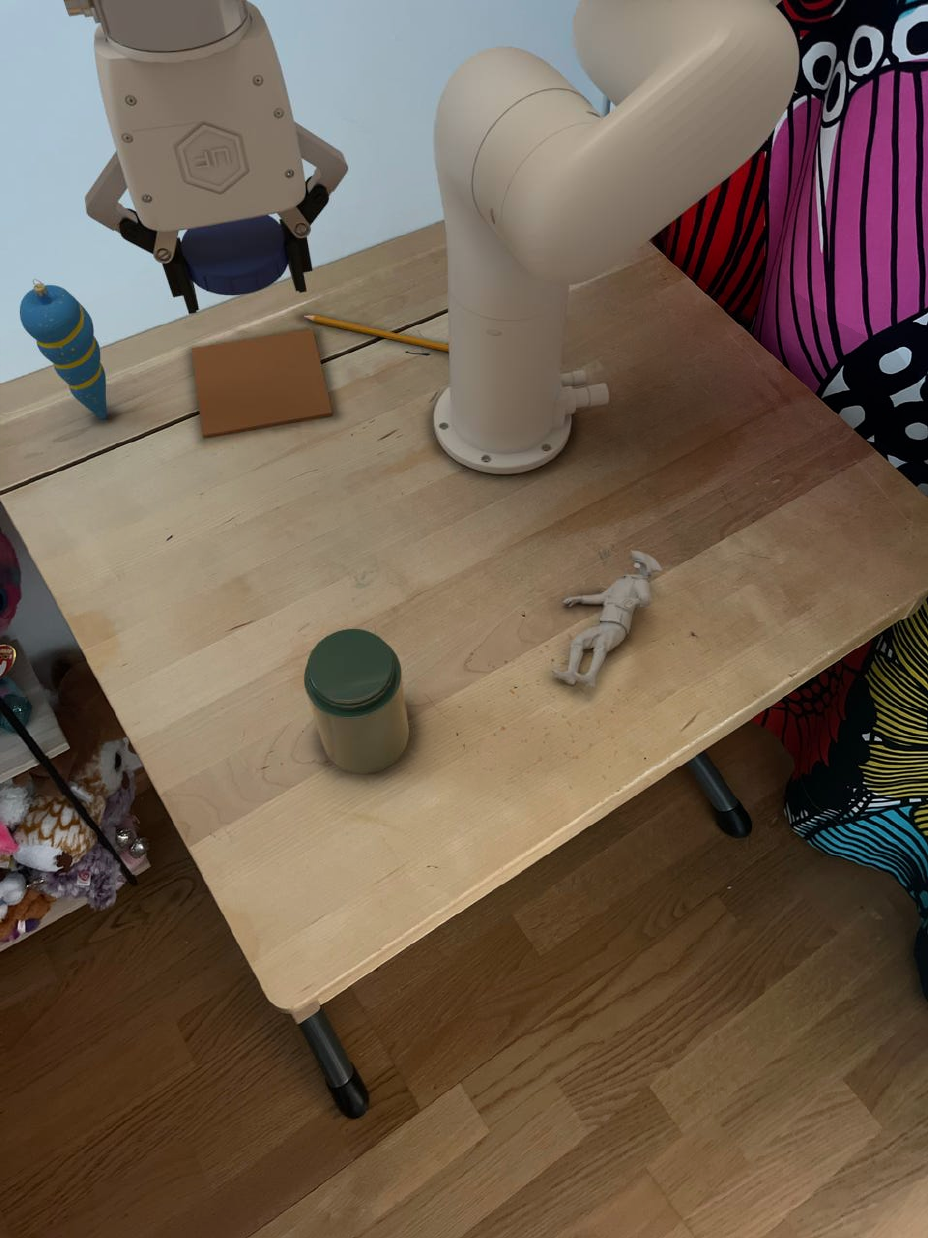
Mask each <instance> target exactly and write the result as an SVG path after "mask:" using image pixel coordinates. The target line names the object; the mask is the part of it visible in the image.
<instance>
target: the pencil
mask: <svg viewBox="0 0 928 1238" xmlns="http://www.w3.org/2000/svg"><path fill="white" fill-rule="evenodd" d="M300 316H301V317H303V318H305V319H307V320H310V321H312V322H314V323H318V324H322V325H327V326H330V327H335V328H339V329H344V330H349V331H352V332H358V333H363V334H367V335H370V336H374V337H375V336H376V337H380V338H385V339H389V340H393V341H399V342H402V343H407V344H411V345H415V346H420V347H425V348H428V349H429V348H430V349H432V350H433V349H434V350H438V351H442V352H447V353H449V344H446V343H441V342H436V341H433V340H427V339H424V338H420V337H414V336H410V335H405V334H402V333H401V334H400V333H395V332H391V331H386V330H382V329H379V328H374V327H373V328H372V327H368V326H366V325H365V326H364V325H360V324H355V323H351V322H346V321H343V320H338V319H334V318H329V317H324V316H319V315H300Z"/></svg>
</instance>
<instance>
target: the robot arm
mask: <svg viewBox="0 0 928 1238" xmlns="http://www.w3.org/2000/svg"><path fill="white" fill-rule="evenodd" d="M782 1H783V0H579V2H578V3H577V6H576V9H575V12H574V15H573V19H572V24H571V40H572V41H571V43H572V47H573V51H574V53H575V56H576V59H577V61H578V63H579V66H580V67H581V69H582V70H583V71H584V73H585V75H586V76H587V78H588V79H589V80H590V82H592V84H593V85H594V86H595V87H596V88H597V89H598V90H599V92H601V93H602V94H603V95H604V96H605V98H606V99H608V100H609V101H610V103H612V105H614V107H615V108H613V109H611V111H609V112H608V113H607V114H606V115H605V116H603V115H602V113H600V112H599V111H598V110H597V109H596V108H595V107H594V106H593V104H592V103H591V102H590V101H589V100H588V99H587V98H586V97H585V96H584V95H583V94H582V93H581V92H580V91H579V90H578V89H577V88H576V87H575V86H574V85H573V84H572V83H571V82H570V81H569V80H568V79H567V78H566V77H565V76H564V75H563V74H562V73H561V72H559V70H557V69H556V68H555V67H554V66H553V65H551V64H550V63H549V62H547V61H546V60H545V59H543V58H541V57H540V56H538V55H536V54H534V53H532V52H530V51H528V50H525V49H522V48H519V47H513V46H497V47H490V48H487V49H484V50H481V51H478V52H477V53H475V54H473V55H472V56H470V57H469V58H468V59H466V60H465V61H463V62H462V63H461V64H460V65H459V66H458V67H457V68H456V70H454V71H453V73H452V75H451V76H450V77H449V79H448V80H447V82H446V84H445V86H444V88H443V90H442V92H441V94H440V96H439V100H438V102H437V105H436V106H437V107H436V111H435V116H434V121H433V135H432V136H433V137H432V138H433V139H432V140H433V141H432V142H433V143H432V144H433V158H434V165H435V172H436V178H437V183H438V189H439V195H440V200H441V207H442V213H443V219H444V228H445V241H446V243H445V244H446V263H447V281H446V282H447V320H448V321H447V322H448V324H447V326H448V327H447V328H448V345H449V352H448V365H449V367H448V368H449V386H447V387H446V388H445V390H444V391H443V392H442V393H441V394H440V396H439V397H438V400H437V401H436V404H435V406H434V412H433V429H434V433H435V438H436V439H437V441H438V443H439V445H440V446H441V448H442V449H443V451H445V452H446V453H447V455H448V456H450V457H451V458H453V460H455V461H456V462H458V463H460V464H462V465H464V466H465V467H467V468H470V469H471V470H475V471H479V472H483V473H488V474H492V475H493V474H494V475H512V474H521V473H525V472H529V471H532V470H534V469H537V468H540V467H541V466H543V465H546V464H548V463H549V462H550V461H552V460H553V459H555V458H556V456H557V455H559V453H560V452H562V450H563V449H564V447H565V445H567V442H568V440H569V437H570V434H571V429H572V428H571V427H572V415H573V414H575V413H576V411H577V409H581V408H585V407H587V408H594V407H600V406H605V405H608V404H609V401H610V393H609V387H608V385H607V384H606V383H605V382H600V383H597V384H595V383H594V384H590V385H587V381H588V380H587V379H588V378H587V377H588V376H587V373H586V370H585V369H580V370H579V369H578V370H572V371H569V372H565V373H561V372H560V371H561V362H562V354H563V343H564V337H565V326H566V317H567V308H568V307H567V306H568V300H569V299H568V297H569V290H570V286H572V285H577V284H581V283H584V282H587V281H590V280H592V279H594V278H597V277H598V276H600V275H602V274H604V273H606V272H608V271H609V270H611V269H612V268H614V267H616V266H617V265H618V264H620V263H621V262H622V261H624V260H625V259H627V258H628V257H629V256H630V255H632V254H633V253H634V252H635V251H637V250H638V249H640V248H641V247H642V246H643V245H645V244H646V243H647V242H648V241H650V240H651V239H652V238H653V237H655V236H656V235H658V233H660V232H661V231H663V229H665V228H666V227H667V226H669V225H670V224H671V223H672V222H673V221H675V220H677V219H678V218H679V217H680V216H682V215H683V214H684V213H685V212H687V211H688V210H689V209H690V208H691V207H693V206H694V205H695V204H697V203H698V202H699V201H700V200H702V199H703V198H704V197H706V196H707V195H708V194H709V193H710V192H711V191H713V190H714V189H715V188H717V187H718V186H719V185H720V184H722V183H723V182H724V181H725V180H727V179H728V178H729V177H731V176H732V174H734V173H735V172H736V171H737V170H739V169H740V168H741V167H742V166H743V165H744V164H746V163H747V162H748V161H749V160H750V159H751V157H752V156H754V155H755V154H756V153H757V152H758V150H759V149H760V148H761V147H762V146H763V144H765V142H766V141H767V140H768V139H769V137H770V136H771V135H772V133H773V131H774V130H775V129H776V126H778V124H779V122H780V121H781V120H782V118H783V116H784V114H785V112H786V110H787V108H788V106H789V104H790V102H791V99H792V97H793V94H794V92H795V88H796V84H797V81H798V76H799V70H800V50H799V45H798V41H797V37H796V34H795V32H794V30H793V27H792V26H791V24H790V22H789V21H788V19H787V18H786V17H785V16H784V14H783V13H782V12H781V11H780V9H778V7H777V6H778V4H780V3H781V2H782ZM63 3H64V7H65V9H66V12H67V14H68V17H76V16H82V15H84V18H91V17H92V18H93V20H94V23H95V24H98V26H97V27H96V29H95V31H94V36H93V37H94V41H93V51H94V58H95V66H96V68H95V69H96V74H97V80H98V85H99V89H100V94H101V98H102V99H101V100H102V103H103V108H104V110H105V111H104V112H105V115H106V119H107V122H108V126H109V130H110V133H111V137H112V141H113V144H114V148H115V152H114V153H113V155H112V157H111V158H110V159H109V160H108V162H107V163H106V165H105V166H104V168H103V170H102V171H101V173H100V174H99V175H98V176H97V178H96V180H95V181H94V183H93V184H92V186H91V187H90V189H89V190H88V191H87V193H86V195H85V196H84V202H85V203H84V204H85V212H86V215H87V216H88V217H89V218H91V219H92V220H94V221H96V222H97V223H99V224H101V225H103V226H104V227H106V228H107V229H109V230H111V231H113V232H114V231H115V232H117V234H119V235H120V237H122V239H123V240H125V241H127V242H129V243H130V244H132V245H135V246H136V247H138V248H140V249H141V250H144V251H145V252H147V253H149V254H150V255H153V259H154V260H155V261H156V262H158V263H160V264H161V265H162V268H163V272H164V274H165V277H166V281H167V283H168V286H169V289H170V292H171V295H172V297H173V298H177V297H178V298H179V297H183V301H184V303H185V306H186V310H187V312H188V315H193V314H197V313H198V312H197V311H200V307H199V302H198V296H197V292H196V287H195V283H194V282H193V281H192V280H191V279H190V278H189V274H188V271H187V268H186V265H185V260H184V257H183V253H182V250H181V241H182V239H181V237H179V232H181V231H187V230H188V229H193V228H199V227H205V226H211V225H216V224H222V223H227V222H233V221H239V220H244V219H249V218H255V217H260V216H265V215H269V216H271V215H274V214H277V215H278V217H279V218H278V220H279V221H278V222H279V224H280V225H281V227H282V230H283V233H284V237H285V241H286V245H287V250H288V255H289V262H288V266H287V267H288V270H289V272H290V273H289V274H290V276H291V280H292V283H293V286H294V289H295V292H298V294H301V293H302V294H303V293H307V291H308V290H307V284H306V279H305V273H309V272H313V271H314V269H313V263H312V257H311V253H310V246H309V241H308V236H309V235H310V234H311V231H312V227H311V226H312V225H313V223H314V222H315V221H316V219H318V217H319V216H320V214H321V213H322V211H323V210H324V209H325V208H326V206H327V205H328V204H329V201H330V196H331V195H332V193H333V192H335V191H336V189H337V188H338V186H339V185H340V183H342V182H343V181H342V180H343V179H344V177H346V175H347V174H348V172H349V165H348V162H347V161H346V157H345V155H344V153H343V152H342V151H340V150H339V149H337V148H336V147H334V146H333V145H331V144H330V143H328V142H327V141H325V140H324V139H323V138H321V137H319V136H317V135H316V134H315V133H313V132H311V130H309V129H307V128H305V127H304V126H302V125H300V124H299V123H298V122H296V121H295V119H294V115H293V111H292V105H291V102H290V97H289V93H288V89H287V84H286V81H285V77H284V73H283V69H282V64H281V63H280V59H279V56H278V53H277V49H276V46H275V43H274V40H273V37H272V34H271V31H270V29H269V27H268V24H267V22H266V19H265V18H264V16H263V15H262V12H261V11H260V9H259V8H258V6H256V5H255V4H253V2H250V1H249V0H63ZM303 160H304V161H306V162H307V163H309V164H310V165H312V166H314V167H315V170H314V171H313V172H314V173H313V174H312V175H311V176H308V178H307V179H306V177H305V169H304V163H303ZM127 190H128V193H129V196H130V199H131V202H132V204H133V207H134V209H135V210H134V209H133V208H128V207H124V206H123V204H122V203H120V202H119V201H120V199H121V198H122V197H123V195H124V194H125V192H126V191H127ZM584 385H585V386H584ZM579 386H584V387H579ZM574 387H579V388H575V389H574Z"/></svg>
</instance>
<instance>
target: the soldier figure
mask: <svg viewBox="0 0 928 1238" xmlns="http://www.w3.org/2000/svg"><path fill="white" fill-rule="evenodd" d="M630 553H631V556H632V562H633V566H634V568H635V570H636V572H637V574H633V573H627V574H623V575H622V576H621V578H619V579H616V581H614V582H613V583H612V584H611V585H610V586H609V587H608V588H607V589H605V590H604V591H603V592H601V593H595V594H588V595H587V594H586V595H576V596H569V597H567V598H565V599H564V600H563V601H562V603H563V604H569V606H568V607H570V608H571V607H572V606H573V605H576V604H577V603H581V605H603V606H602V607H603V609H602V611H601V616H600V618H599V623H600V624H599V625H596V626H591V627H588V628H586V629H584V630H583V631H581V632H579V633H578V634H576V635H575V636H574V639H573V640H572V642H571V645H570V646H569V661H568V665H567V670H564V671H560V670H558V669H557V668H553V669H552V670H551V673H552V674H553V676H554V677H555V678H557V679H559V680H563V681H564V682H565V683H567V684H568V685H572V686H575V685H576V682H578V683H582V684H584V686H586V687H587V688H589V689H595V686H596V684H597V676H598V675H599V671H600V669H601V667H602V665H603V664H604V663H605V660H606V656H607V653H608V652H609V651H611V650H613V649H614V648H616V647H617V646H619V645H620V644H621V643H622V642H623V641H624V640H625V638H626V637H627V636H629V632H630V629H631V626H632V619H633V617H634V616H633V615H634V611H635V609H636V608H637V607H638V608H645V607H649V606H650V605H651V602H652V596H651V594H652V592H651V585H650V583H649V581H648V580H647V579H650V578H652V576H653V573H655V572H664V570H663V568H662V567H661V565H660V564H659V562H658V560H656V559H655V558H654V557H653V556H651V555H649V554H647V553H644V551H643V552H642V551H638V550H631V549H630ZM584 649H585V650H587V649H593V651H592V652H593V657H592V659H591V663H590V665H589V670H588V671H587V673H585V674H580V672H579V668H580V665H581V662H582V659H583V655H584Z"/></svg>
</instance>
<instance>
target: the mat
mask: <svg viewBox="0 0 928 1238" xmlns="http://www.w3.org/2000/svg"><path fill="white" fill-rule="evenodd" d="M315 336H316V335H315V332H314V329H313V328H308V329H301V330H295V331H289V332H283V333H277V334H271V335H266V336H265V335H264V336H260V337H259V336H258V337H253V338H247V339H241V340H235V341H229V342H223V343H217V344H211V345H205V346H197V347H192V348H191V355H192V362H193V363H192V364H193V371H194V379H195V386H196V394H197V402H198V403H197V404H198V411H199V419H200V428H201V434H202V435H201V436H202V438H203V439H207V438H212V437H217V436H224V435H229V434H234V433H235V434H236V433H240V432H246V431H251V430H257V429H262V428H268V427H269V428H270V427H274V426H280V425H286V424H290V423H291V424H292V423H297V422H302V421H309V420H314V419H319V418H320V419H321V418H325V417H331V416H333V409H332V405H331V401H330V396H329V392H328V387H327V383H326V380H325V379H326V378H325V373H324V371H323V366H322V362H321V357H320V354H319V348H318V345H317V340H316V337H315Z"/></svg>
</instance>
